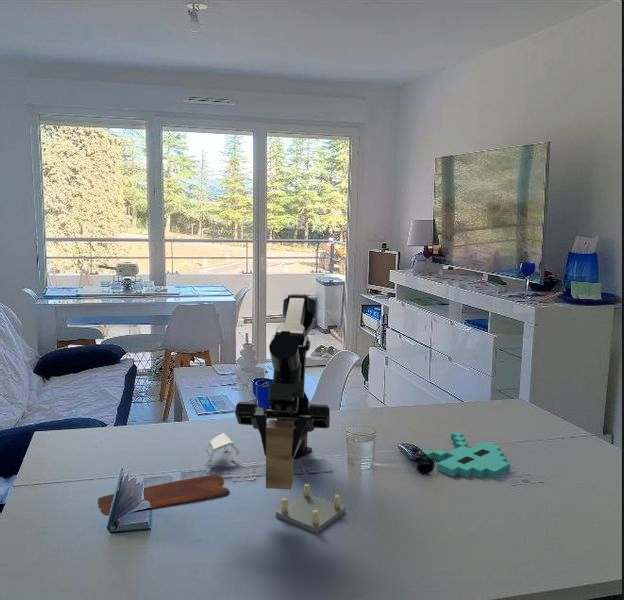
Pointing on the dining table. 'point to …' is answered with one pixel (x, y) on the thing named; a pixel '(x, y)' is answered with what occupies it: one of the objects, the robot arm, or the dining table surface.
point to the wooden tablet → (176, 492)
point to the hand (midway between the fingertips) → (279, 455)
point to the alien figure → (470, 459)
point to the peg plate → (310, 511)
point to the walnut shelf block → (279, 454)
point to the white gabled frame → (220, 445)
